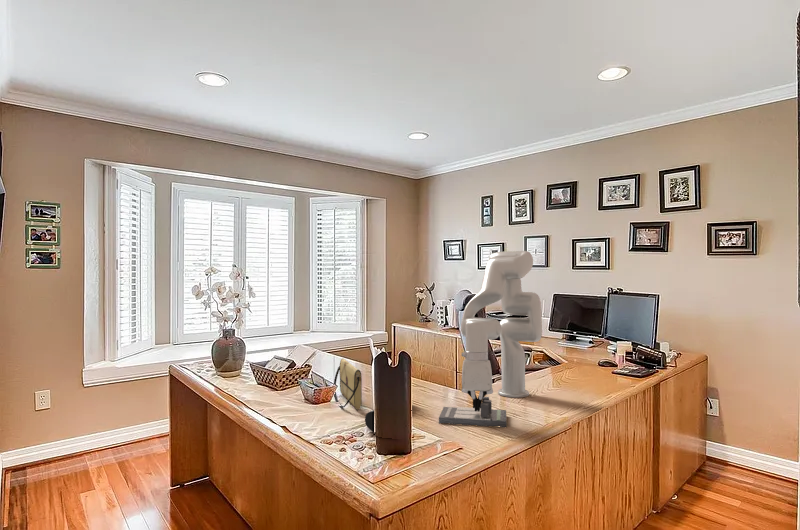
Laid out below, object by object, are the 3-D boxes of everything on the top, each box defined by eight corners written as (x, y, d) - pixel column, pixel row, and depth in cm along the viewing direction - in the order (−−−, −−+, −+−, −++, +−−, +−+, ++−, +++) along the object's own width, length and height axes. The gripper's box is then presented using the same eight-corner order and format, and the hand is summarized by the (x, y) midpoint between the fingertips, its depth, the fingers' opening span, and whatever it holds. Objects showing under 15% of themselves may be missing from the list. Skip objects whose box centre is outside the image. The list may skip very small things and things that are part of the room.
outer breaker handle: (481, 415, 155) (481, 403, 155) (488, 415, 155) (488, 403, 155) (480, 417, 153) (480, 404, 153) (488, 417, 153) (488, 405, 153)
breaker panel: (443, 412, 168) (443, 406, 168) (506, 415, 163) (506, 409, 163) (438, 423, 155) (438, 416, 155) (506, 427, 150) (506, 420, 151)
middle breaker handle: (484, 411, 160) (484, 399, 160) (491, 412, 159) (491, 400, 159) (484, 413, 157) (484, 401, 158) (491, 413, 157) (491, 401, 157)
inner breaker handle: (482, 407, 164) (482, 396, 164) (489, 408, 164) (489, 396, 164) (482, 409, 162) (481, 398, 162) (489, 410, 161) (488, 398, 162)
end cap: (382, 423, 156) (382, 402, 157) (400, 426, 153) (400, 405, 153) (364, 431, 148) (364, 410, 148) (383, 435, 144) (382, 413, 144)
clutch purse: (329, 394, 196) (329, 358, 197) (345, 393, 199) (345, 357, 199) (344, 413, 168) (344, 371, 169) (363, 411, 170) (363, 370, 171)
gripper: (453, 357, 158) (454, 412, 157) (498, 358, 154) (499, 414, 154) (456, 353, 165) (456, 406, 164) (499, 355, 162) (500, 408, 161)
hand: (477, 410), depth 159 cm, fingers closed
